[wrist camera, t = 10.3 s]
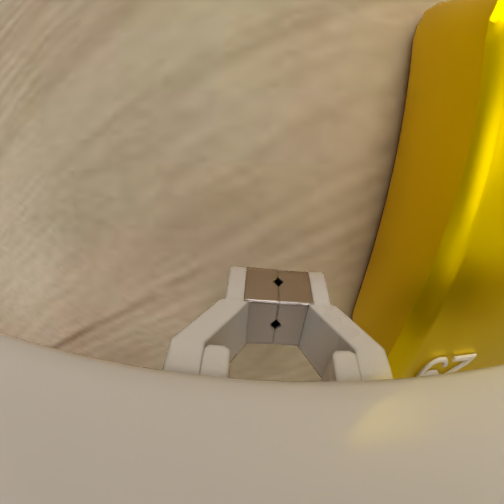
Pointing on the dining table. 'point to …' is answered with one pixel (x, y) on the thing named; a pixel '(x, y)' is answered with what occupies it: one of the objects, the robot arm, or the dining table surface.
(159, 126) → the dining table surface
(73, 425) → the robot arm
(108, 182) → the dining table surface
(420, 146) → the element tile
